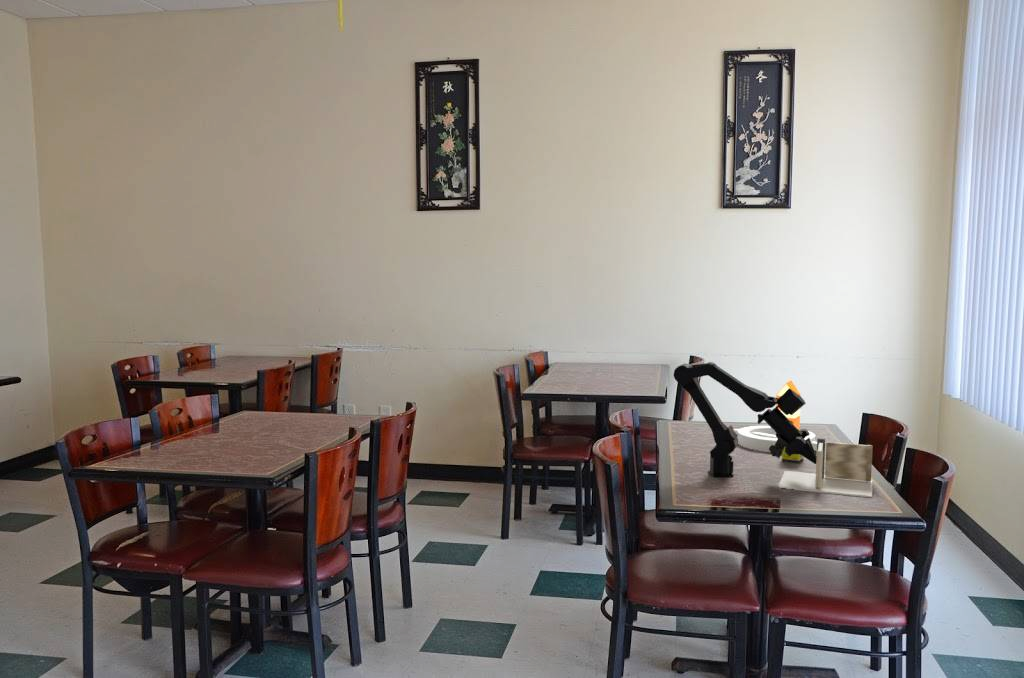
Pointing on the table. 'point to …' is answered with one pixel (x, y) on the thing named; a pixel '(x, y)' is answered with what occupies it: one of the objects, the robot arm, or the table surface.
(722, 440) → the robot arm
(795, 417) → the orange juice
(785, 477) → the board
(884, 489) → the table surface
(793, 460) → the supplement box
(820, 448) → the pale green flat panel
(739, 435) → the ring with crossbar
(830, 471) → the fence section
